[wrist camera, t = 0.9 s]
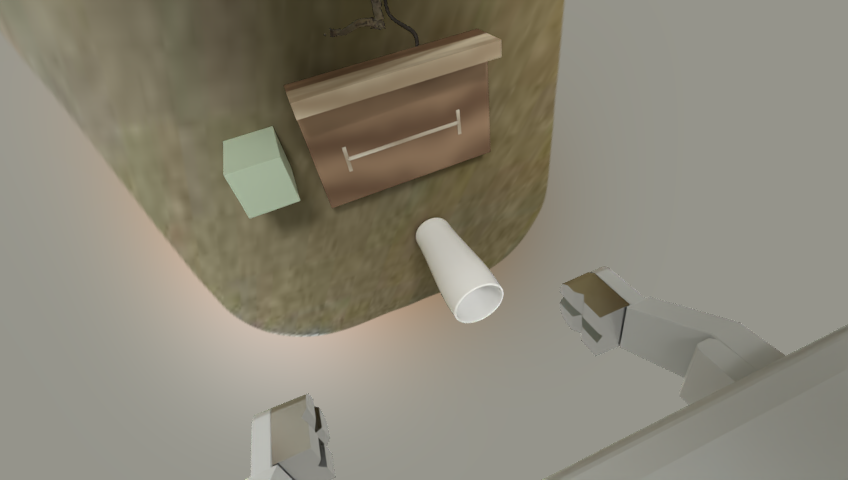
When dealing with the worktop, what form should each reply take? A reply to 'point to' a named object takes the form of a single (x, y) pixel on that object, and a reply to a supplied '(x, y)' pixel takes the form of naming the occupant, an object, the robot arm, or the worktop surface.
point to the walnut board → (397, 114)
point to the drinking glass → (458, 272)
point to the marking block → (259, 172)
